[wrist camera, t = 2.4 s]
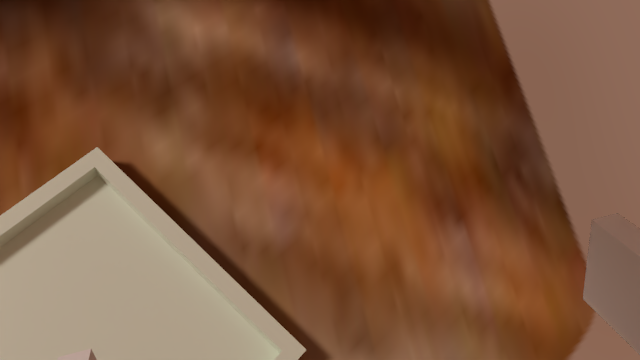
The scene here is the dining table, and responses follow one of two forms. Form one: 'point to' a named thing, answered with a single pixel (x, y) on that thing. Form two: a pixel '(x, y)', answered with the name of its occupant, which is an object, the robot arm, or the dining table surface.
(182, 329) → the tray
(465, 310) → the dining table surface
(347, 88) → the dining table surface
